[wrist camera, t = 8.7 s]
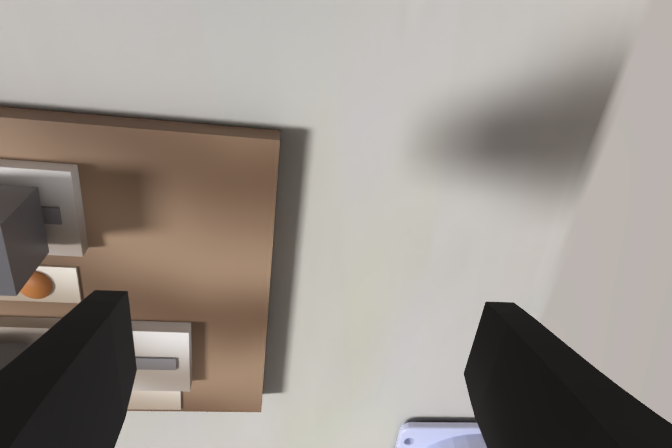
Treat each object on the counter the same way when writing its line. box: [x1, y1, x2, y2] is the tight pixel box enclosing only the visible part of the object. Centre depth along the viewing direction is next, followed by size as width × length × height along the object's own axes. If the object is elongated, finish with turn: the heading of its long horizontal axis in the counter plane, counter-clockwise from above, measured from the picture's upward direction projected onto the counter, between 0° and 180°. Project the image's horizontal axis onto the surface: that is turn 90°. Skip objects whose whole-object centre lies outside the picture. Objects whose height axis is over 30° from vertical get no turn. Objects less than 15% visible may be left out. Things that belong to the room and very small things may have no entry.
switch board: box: [0, 106, 280, 412], centre depth 19 cm, size 13×18×2 cm
